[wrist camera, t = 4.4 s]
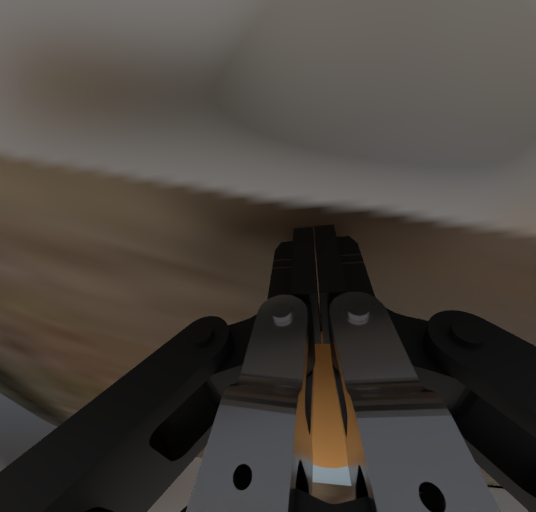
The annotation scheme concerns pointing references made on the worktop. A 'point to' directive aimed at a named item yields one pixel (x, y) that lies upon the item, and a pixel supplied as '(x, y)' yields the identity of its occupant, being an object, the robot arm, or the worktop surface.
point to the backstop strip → (332, 492)
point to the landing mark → (331, 475)
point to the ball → (326, 414)
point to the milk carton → (506, 501)
